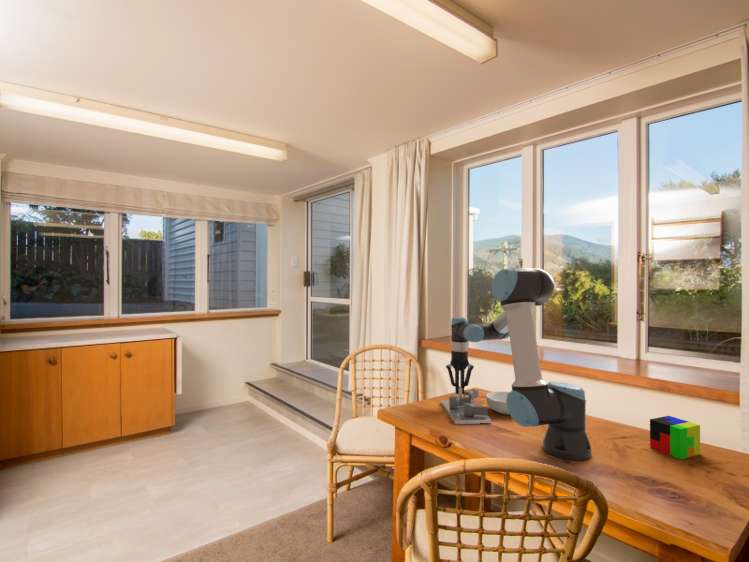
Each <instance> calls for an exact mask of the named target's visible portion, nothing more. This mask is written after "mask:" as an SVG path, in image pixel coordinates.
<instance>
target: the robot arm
mask: <svg viewBox="0 0 749 562" xmlns="http://www.w3.org/2000/svg"><path fill="white" fill-rule="evenodd" d="M554 290H555V282H554V279H553V277H552V276H551V274H550V273H548V272H547V270H544V269H541V268H536V267H534V268H521V267H520V268H519V267H518V268H516V267H515V268H514V267H510V268H503V269H500V270H499V271H497V272H496V274H495V276H494V277H493V279H492V283H491V294H492V296H493V298H494V299H495V301H497V302H500V307H501V309H503V311H502V312H501V313H500V314H499V315H498V316H497V317H496V318H495V319H493V321H492V322H485V323H484V322H482V323H481V322H480V323H469V321H468V318H467V317H465V316H464V317H462V316H455V317H452V318H451V325H450V332H451V333H450V334H451V335H450V338H451V339H450V340H451V348H450V349H451V355H450V356H451V358H450V359H451V360H450V363H449V364H446V365H445V368H446V370H447V371H448V375H449V380H450V384H451V385H452V387H455V388H454V389H455V391H454V393H455V394H456V395H457V397H463V395H464V391H465V388H466V387H468V386H469V383H470V379H471V374H472V371H473V369H474V365H473V364H471V363H470V362H469V359H468V358H469V352H468V350H469V345H468V344H469V343H468V342H471V343H479V342H481V341H492V340H494V341H495V340H496V341H497V340H499V341H501V340H505V339H508V338H509V343H510V351H511V357H512V358H511V359H512V365H513V373H514V381H513V382H512V384H511V391H509V392H510V393H508V395H507V399H506V403H507V408H508V411H509V413H510V417H511V419H513V421H514V422H515V423H516V424H517V425H519V426H521V427H524V428H525V427H526V428H527V427H533V428H534V427H535V428H536V427H537V426H545V425H548V426H547V428H546V432H545V435H544V438H543V440H542V448H543V450H544V451H545V452H546V453H548V454H550V455H551V456H553V457H554V456H555V457H556V458H559V459H563V460H571V461H586V460H588V459H591V457H592V452H593V451H592V449H593V448H592V446H591V443H590V440H589V438H588V434H587V429H586V404H587V403H586V402H587V400H586V392H585V390H584V389H583V388H582V387H581V386H578V385H575V384H572V383H568V382H562V381H549V382H546V380H544V379H543V377H542V371H541V364H540V357H539V350H538V343H537V337H536V330H535V323H534V322H535V321H534V317H533V311H534V309H536V307H539V306H543V305H544V304H546V302H548V300H550V299H551V298H552V296H553V294H554V292H555V291H554ZM452 368H453V369H454V375H453V371H452ZM466 369H467V370H466ZM465 370H466V371H465ZM465 373H466V374H465Z"/></svg>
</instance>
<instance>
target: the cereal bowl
mask: <svg viewBox="0 0 749 562" xmlns="http://www.w3.org/2000/svg"><path fill="white" fill-rule="evenodd" d="M510 392H511V391H505V390H502V391H500V390H499V391H498V390H497V391H491V392H488V393H487V394H486V403H487V404H486V405H487V406H488V407H489V408H490V409H491V410H493V411H495V412H497V413H498V414H500V413H501V415H505V414H506V416H509V415H510V413H509V411H508V408H507V403H506V399H507V395H508V393H510ZM510 416H511V415H510Z"/></svg>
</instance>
